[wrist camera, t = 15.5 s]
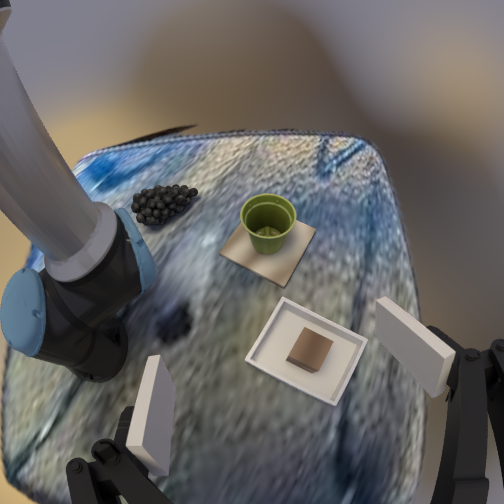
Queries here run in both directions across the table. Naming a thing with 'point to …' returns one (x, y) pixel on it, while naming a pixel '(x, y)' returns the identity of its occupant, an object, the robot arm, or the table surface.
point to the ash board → (269, 265)
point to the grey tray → (283, 339)
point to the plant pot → (268, 221)
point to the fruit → (161, 203)
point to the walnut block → (309, 350)
